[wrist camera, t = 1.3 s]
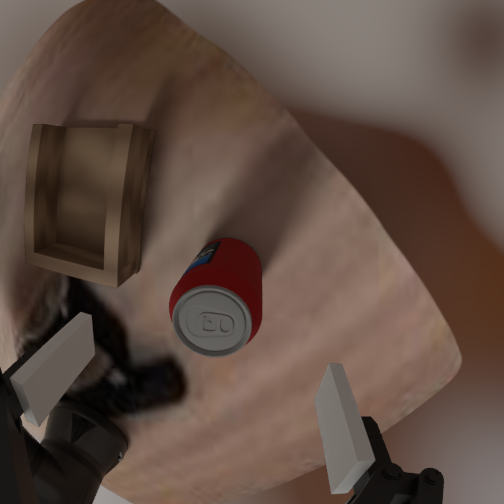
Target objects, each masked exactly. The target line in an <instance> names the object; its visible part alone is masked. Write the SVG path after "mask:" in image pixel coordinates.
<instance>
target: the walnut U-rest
mask: <svg viewBox="0 0 504 504" xmlns="http://www.w3.org/2000/svg"><path fill="white" fill-rule="evenodd" d="M155 132H156V131H153V130H148V129H145V128H143V127H140V126H137V125H134V124H118V128H91V127H60V126H53V125H46V124H33V129H32V135H31V141H30V149H29V157H28V166H27V177H26V192H25V254H26V263H28V264H31V265H34V266H38V267H41V268H44V269H48V270H51V271H55V272H58V273H62V274H65V275H69V276H72V277H76V278H79V279H83V280H87V281H91V282H94V283H98V284H102V285H106V286H110V287H114V288H118V287H119V286H120V285H122V284H123V283H124V282H125V281H126V280H127V279H128V278H129V277H131V276H132V275H133V274H134V273H135V274H137V273H138V272H139V264H140V249H141V237H142V226H143V216H144V206H145V198H146V190H147V182H148V175H149V168H150V162H151V155H152V149H153V144H154V138H155Z"/></svg>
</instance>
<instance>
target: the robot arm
mask: <svg viewBox="0 0 504 504" xmlns="http://www.w3.org/2000/svg"><path fill="white" fill-rule="evenodd" d="M94 355H95V348H94V339H93V328H92V315H89V314H86V313H82V312H80V313H79V314H78V315H77V316H75V317H74V318H73V319H72V320H71V321H70V322H69V323H68V324H66V325H65V326H64V327H63V328H62V329H61V330H60V331H59V332H58V333H56V334H55V335H54V336H53V337H52V338H51V339H50V340H49V341H48V342H47V343H46V344H45V345H43V346H42V347H41V348H40V349H39V348H37V347H35V348H32V349H30V350H28V351H27V352H26V353H24V354H23V355H22V357H20V358H19V359H18V360H17V362H15V363H14V364H13V365H12V366H11V367H9V368H8V369H7V370H6V371H5V372H4V373H3V374H2V371H1V368H0V504H92V503H93V501H94V498H95V496H96V493H97V491H98V489H99V486H100V484H101V482H102V480H103V478H104V476H105V475H106V474H107V473H109V472H110V471H111V470H112V469H113V468H114V467H115V466H116V465H117V464H118V463H119V462H120V461H121V460H122V459H123V457H124V455H125V453H126V450H127V442H126V440H125V438H124V436H123V434H122V433H121V432H120V430H119V429H118V428H117V427H116V426H115V425H114V424H113V423H112V422H111V421H110V420H108V419H107V418H106V417H105V416H103V415H102V414H100V413H99V412H97V411H96V410H94V409H92V408H91V407H89V406H87V405H85V404H82V403H80V402H77V401H73V400H68V399H63V400H60V398H61V397H62V396H63V395H64V393H65V392H66V391H67V389H68V388H69V387H70V386H71V384H72V383H73V382H74V380H75V379H76V378H77V377H78V375H79V374H80V373H81V372H82V370H83V369H84V368H85V367H86V365H87V364H88V363H89V362H90V360H91V359H92V358H93V357H94ZM59 400H60V401H59ZM314 401H315V406H316V411H317V417H318V422H319V427H320V432H321V438H322V443H323V449H324V454H325V460H326V466H327V471H328V477H329V483H330V489H331V494H338V493H348V492H349V491H350V489H351V488H352V487H353V489H354V493H355V494H354V495H353V496H352V497H351V498H350V499H349V500H348V501H347V502H346V504H442V501H443V486H444V479H443V475H442V474H441V472H439V471H438V470H436V469H434V468H426V469H424V470H423V471H422V472H421V473H420V474H414V473H406V472H403V470H402V469H401V467H400V466H398V465H397V464H394V463H392V462H391V459H390V457H389V454H388V451H387V448H386V446H385V443H384V440H382V435H381V433H380V430H379V427H378V425H377V423H376V422H375V421H374V420H373V419H372V417H371V416H368V417H361V415H360V413H359V410H358V407H357V404H356V401H355V398H354V396H353V393H352V390H351V387H350V384H349V382H348V379H347V376H346V374H345V371H344V368H343V365H342V364H336V363H329V364H328V366H327V369H326V372H325V374H324V377H323V379H322V382H321V384H320V386H319V389H318V391H317V394H316V396H315V398H314ZM23 412H24V415H25V417H26V419H27V421H29V422H31V423H32V424H34V425H36V426H38V427H40V425H41V424H42V422H43V421H44V420H45V418H46V417H47V416H48V414H49V413H50V414H49V418H48V422H47V426H46V431H45V435H44V438H43V440H42V441H41V443H39V442H38V441H37V440H36V439H35V438H34V437H33V436H32V435H31V434H30V433H29V432H28V431H27V430H26V429H25V428H24V427H23V426H22V420H21V418H20V416H21V415H22V414H23Z"/></svg>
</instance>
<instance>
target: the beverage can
mask: <svg viewBox="0 0 504 504" xmlns="http://www.w3.org/2000/svg"><path fill="white" fill-rule="evenodd" d="M169 312H170V317H171V321H172V323H173V328H174V331H175V333H176V335H177V337H178V338H179V340H180V341H181V342H182V343H183V344H184V345H185V346H186V347H187V348H188V349H190V350H191V351H193V352H195V353H197V354H200V355H203V356H207V357H224V356H228V355H231V354H233V353H235V352H237V351H238V350H240V349H241V348H242V347H243V346H244V345H246V344H247V343H248V342H250V341H251V340H252V339H253V337H254V336H255V335H256V333H257V332H258V330H259V327H260V325H261V321H262V271H261V263H260V260H259V258H258V256H257V254H256V253H255V251H254V250H253V249H252V248H251V247H250V246H249V245H247V244H246V243H244V242H242V241H240V240H237V239H232V238H222V239H218V240H215V241H212V242H211V243H209V244H207V245H206V246H205V247H204V248H203V249H202V250H201V252H200V253H199V254H198V255H197V257H196V258H195V259H194V261H193V262H192V263H191V265H190V266H189V267H188V269H187V270H186V272H185V273H184V274H183V276H182V277H181V279H180V280H179V282H178V283H177V285H176V286H175V288H174V290H173V292H172V294H171V297H170V302H169Z"/></svg>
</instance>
